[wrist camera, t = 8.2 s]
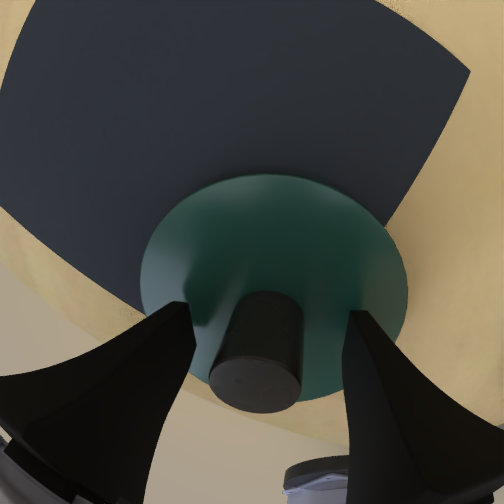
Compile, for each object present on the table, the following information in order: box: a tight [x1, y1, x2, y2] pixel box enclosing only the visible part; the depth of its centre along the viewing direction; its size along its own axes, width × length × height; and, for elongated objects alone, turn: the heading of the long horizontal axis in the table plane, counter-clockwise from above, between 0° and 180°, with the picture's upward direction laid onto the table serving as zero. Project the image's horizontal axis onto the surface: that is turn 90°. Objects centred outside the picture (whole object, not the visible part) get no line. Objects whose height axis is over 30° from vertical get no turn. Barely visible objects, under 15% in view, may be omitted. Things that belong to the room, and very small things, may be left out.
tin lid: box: [140, 172, 408, 414], centre depth 9 cm, size 10×10×4 cm
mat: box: [0, 0, 471, 315], centre depth 9 cm, size 16×21×1 cm
